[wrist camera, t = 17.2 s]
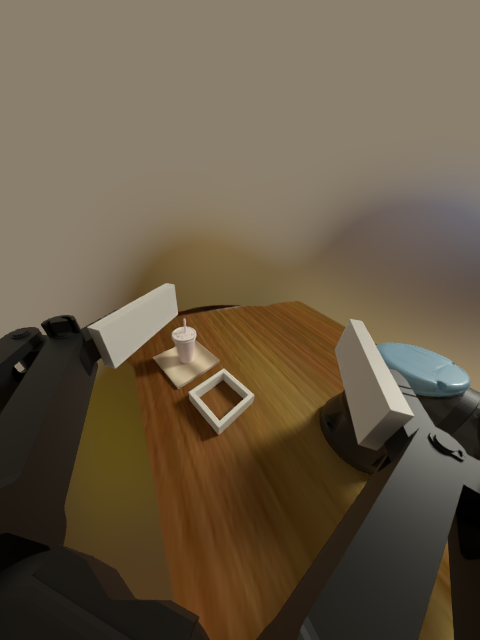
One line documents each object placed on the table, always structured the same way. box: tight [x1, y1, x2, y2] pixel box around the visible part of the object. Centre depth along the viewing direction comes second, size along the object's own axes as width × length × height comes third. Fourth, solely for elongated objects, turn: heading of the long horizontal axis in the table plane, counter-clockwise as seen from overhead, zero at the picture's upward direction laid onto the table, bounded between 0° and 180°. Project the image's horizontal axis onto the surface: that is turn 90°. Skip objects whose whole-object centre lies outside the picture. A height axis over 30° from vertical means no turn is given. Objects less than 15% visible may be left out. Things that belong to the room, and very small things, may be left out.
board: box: [153, 340, 220, 389], centre depth 54 cm, size 14×14×1 cm
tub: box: [189, 369, 254, 435], centre depth 44 cm, size 11×11×3 cm
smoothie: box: [172, 318, 196, 364], centre depth 50 cm, size 6×6×14 cm
